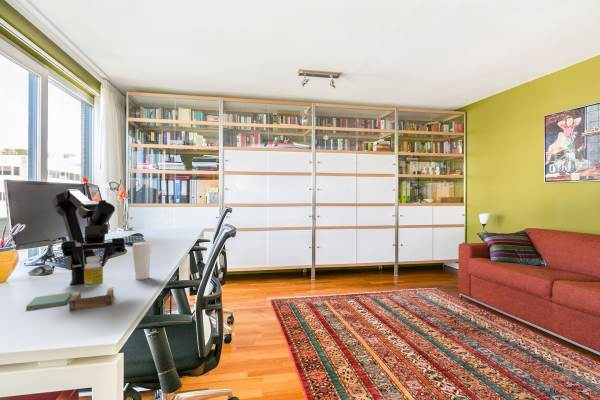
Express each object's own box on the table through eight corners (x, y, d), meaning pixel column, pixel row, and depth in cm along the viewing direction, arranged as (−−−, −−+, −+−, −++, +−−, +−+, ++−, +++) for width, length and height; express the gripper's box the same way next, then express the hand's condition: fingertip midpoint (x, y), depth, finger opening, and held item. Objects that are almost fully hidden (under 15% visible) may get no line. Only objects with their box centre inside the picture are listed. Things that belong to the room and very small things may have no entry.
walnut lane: (75, 301, 106) (75, 292, 106) (113, 295, 111) (113, 287, 111) (69, 311, 97) (69, 301, 97) (111, 305, 102) (110, 295, 102)
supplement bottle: (93, 288, 106) (93, 259, 105) (80, 286, 107) (79, 258, 107) (106, 283, 111) (106, 255, 111) (93, 282, 112) (93, 255, 112)
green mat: (35, 300, 107) (35, 297, 107) (71, 295, 112) (71, 292, 112) (26, 310, 98) (26, 306, 98) (65, 304, 103) (65, 300, 103)
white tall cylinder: (137, 276, 137) (136, 242, 137) (153, 276, 137) (152, 241, 137) (130, 280, 130) (129, 244, 130) (147, 280, 131) (146, 244, 130)
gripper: (61, 217, 108) (54, 256, 98) (124, 215, 116) (123, 251, 106) (67, 237, 115) (60, 275, 105) (125, 234, 123) (124, 268, 114)
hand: (92, 267), depth 108 cm, fingers closed on supplement bottle, 5 cm apart
